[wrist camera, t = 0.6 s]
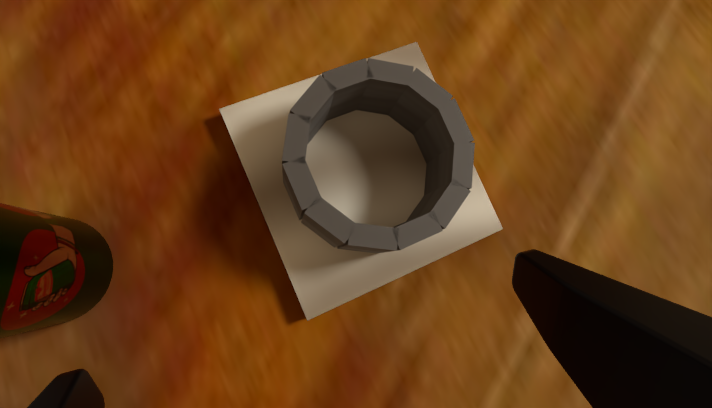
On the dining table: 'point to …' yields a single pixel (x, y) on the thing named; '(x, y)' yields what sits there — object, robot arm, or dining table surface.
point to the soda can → (48, 269)
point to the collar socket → (361, 175)
